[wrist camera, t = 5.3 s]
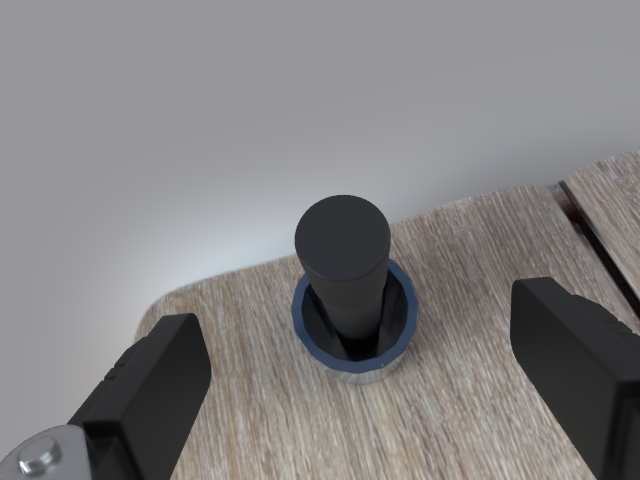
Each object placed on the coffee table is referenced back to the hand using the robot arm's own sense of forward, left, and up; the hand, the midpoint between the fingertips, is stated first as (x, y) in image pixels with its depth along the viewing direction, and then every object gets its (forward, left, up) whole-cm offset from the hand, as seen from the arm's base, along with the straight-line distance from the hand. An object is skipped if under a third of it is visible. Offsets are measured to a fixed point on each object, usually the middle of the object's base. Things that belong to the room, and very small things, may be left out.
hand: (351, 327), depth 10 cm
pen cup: (0, +2, -14) cm, 14 cm away
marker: (0, +2, -13) cm, 14 cm away
